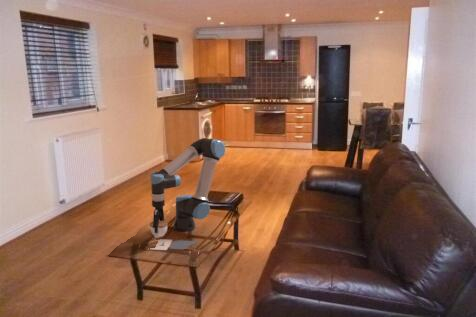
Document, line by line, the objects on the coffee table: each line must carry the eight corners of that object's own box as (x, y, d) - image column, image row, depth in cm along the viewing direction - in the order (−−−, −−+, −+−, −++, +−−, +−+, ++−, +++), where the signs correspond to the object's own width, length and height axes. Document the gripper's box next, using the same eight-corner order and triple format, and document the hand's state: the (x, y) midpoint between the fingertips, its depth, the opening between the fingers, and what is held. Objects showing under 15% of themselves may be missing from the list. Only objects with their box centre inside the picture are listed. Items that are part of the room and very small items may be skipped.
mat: (174, 240, 263) (174, 240, 263) (196, 241, 262) (196, 241, 262) (169, 249, 249) (169, 248, 249) (192, 250, 248) (192, 249, 248)
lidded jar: (169, 237, 252) (169, 222, 251) (151, 239, 249) (151, 224, 247) (166, 231, 262) (165, 217, 261) (149, 233, 259) (148, 219, 257)
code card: (151, 239, 265) (151, 238, 265) (172, 239, 264) (172, 239, 264) (143, 249, 248) (143, 248, 248) (166, 250, 247) (166, 249, 247)
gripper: (156, 194, 263) (157, 227, 267) (146, 205, 240) (147, 241, 244) (168, 194, 262) (169, 227, 267) (159, 205, 240) (160, 241, 244)
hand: (159, 234), depth 255 cm, fingers closed on lidded jar, 11 cm apart
